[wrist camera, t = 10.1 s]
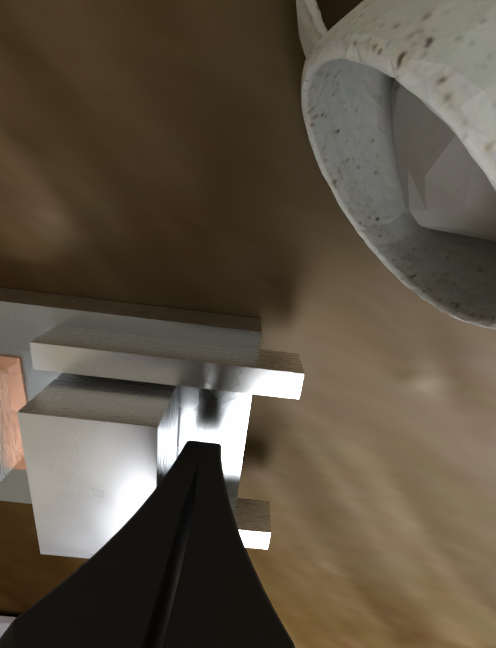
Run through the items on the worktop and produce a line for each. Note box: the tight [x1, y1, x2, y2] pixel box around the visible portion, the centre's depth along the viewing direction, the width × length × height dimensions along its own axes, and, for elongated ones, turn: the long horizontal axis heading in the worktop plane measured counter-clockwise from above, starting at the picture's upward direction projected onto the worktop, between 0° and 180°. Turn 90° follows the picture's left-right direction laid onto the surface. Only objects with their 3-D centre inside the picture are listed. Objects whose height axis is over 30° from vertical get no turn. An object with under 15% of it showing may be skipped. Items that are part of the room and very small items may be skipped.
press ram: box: [17, 373, 180, 559], centre depth 11 cm, size 6×4×3 cm, turn 173°
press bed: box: [0, 287, 304, 549], centre depth 13 cm, size 10×20×3 cm, turn 83°
